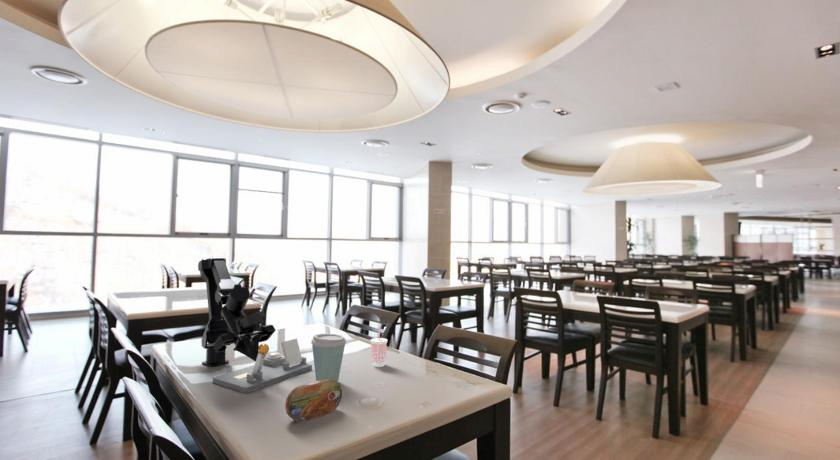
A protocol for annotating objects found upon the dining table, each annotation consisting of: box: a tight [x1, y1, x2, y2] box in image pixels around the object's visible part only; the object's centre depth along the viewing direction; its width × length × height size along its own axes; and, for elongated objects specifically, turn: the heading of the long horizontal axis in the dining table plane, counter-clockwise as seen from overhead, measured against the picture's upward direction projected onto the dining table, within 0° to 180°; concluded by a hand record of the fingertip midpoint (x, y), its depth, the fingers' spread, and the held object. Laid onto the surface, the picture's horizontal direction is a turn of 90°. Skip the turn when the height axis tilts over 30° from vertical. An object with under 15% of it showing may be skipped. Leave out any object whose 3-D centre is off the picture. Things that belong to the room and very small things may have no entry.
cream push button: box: [268, 352, 281, 361], centre depth 140 cm, size 4×4×2 cm
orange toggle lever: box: [252, 343, 270, 379], centre depth 123 cm, size 3×3×11 cm
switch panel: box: [212, 355, 313, 394], centre depth 132 cm, size 16×26×4 cm, turn 150°
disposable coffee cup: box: [310, 333, 347, 383], centre depth 126 cm, size 11×11×15 cm
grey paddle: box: [280, 338, 303, 365], centre depth 139 cm, size 1×6×8 cm, turn 150°
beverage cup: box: [370, 325, 388, 368], centre depth 146 cm, size 6×6×14 cm
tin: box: [284, 379, 343, 423], centre depth 103 cm, size 15×3×8 cm, turn 134°
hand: (257, 360), depth 123 cm, fingers closed, pressing on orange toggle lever
